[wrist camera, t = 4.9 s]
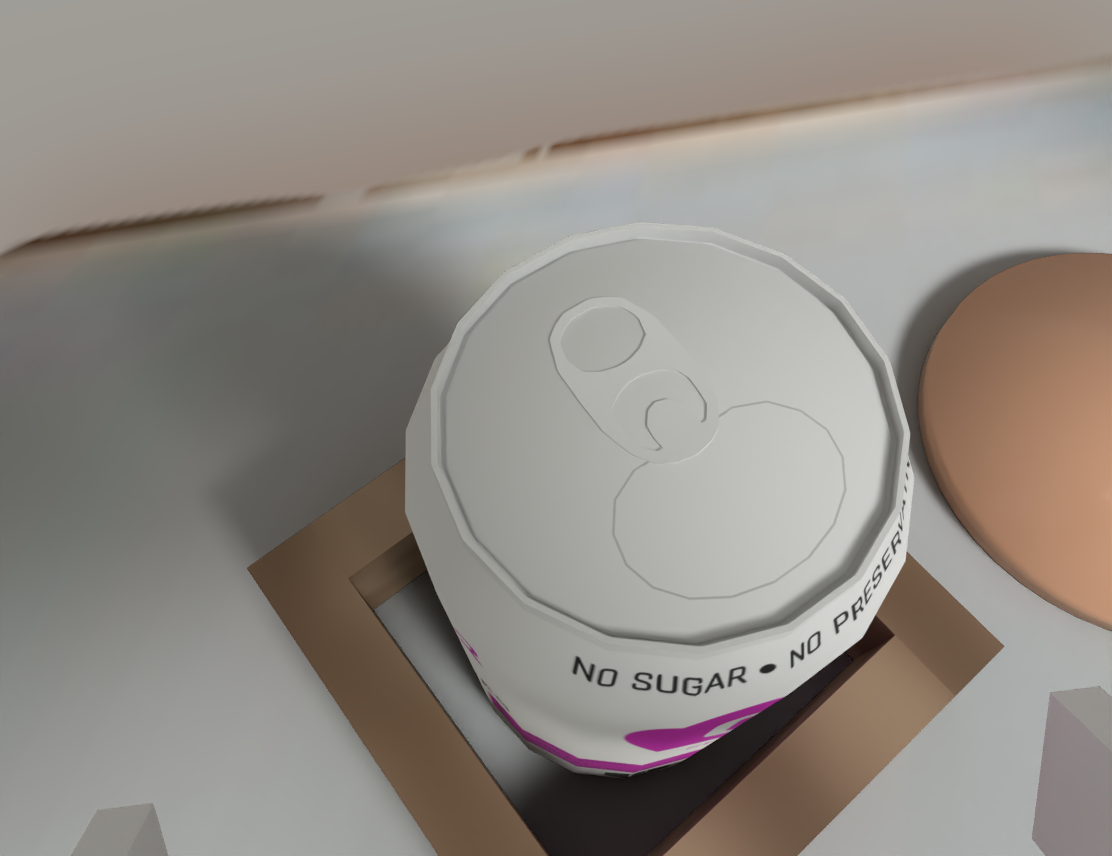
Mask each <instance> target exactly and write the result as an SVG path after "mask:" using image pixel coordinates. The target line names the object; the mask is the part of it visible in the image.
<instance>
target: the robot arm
mask: <svg viewBox="0 0 1112 856" xmlns="http://www.w3.org/2000/svg"><path fill="white" fill-rule="evenodd" d="M1032 839H1033V841H1034V842H1035V843H1036V844H1037V846H1038V847H1039V848H1040V849H1041V851H1042V852H1043V853H1044V854H1045V856H1112V697H1111V696H1110V695H1109V694H1108V693H1107V692H1105V691H1104V690H1103V689H1102V688H1101V687H1100V686H1098V687H1090V688H1082V689H1074V690H1066V691H1058V692H1050V698H1049V706H1048V714H1047V722H1046V730H1045V738H1044V746H1043V754H1042V762H1041V770H1040V778H1039V786H1038V794H1037V802H1036V810H1035V818H1034V826H1033V833H1032ZM71 856H168V853H167V849H166V846H165V843H164V839H163V836H162V832H161V829H160V825H159V822H158V818H157V815H156V811H155V808H154V805H153V803H151V804H143V805H135V806H127V807H119V808H111V809H103V810H97V812H96V814H95V815H94V817H93V819H92V820H91V822H90V824H89V826H88V827H87V829H86V831H85V832H84V834H83V836H82V838H81V839H80V841H79V843H78V844H77V846H76V848H75V850H74V851H73V853H72V855H71Z"/></svg>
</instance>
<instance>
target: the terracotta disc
mask: <svg viewBox="0 0 1112 856" xmlns="http://www.w3.org/2000/svg"><path fill="white" fill-rule="evenodd" d="M918 420H919V426H920V432H921V438H922V443H923V446H924V449H925V453H926V456H927V459H928V462H929V465H930V468H931V470H932V473H933V475H934V477H935V479H936V481H937V483H938V486H939V488H940V490H941V492H942V494H943V495H944V497H945V499H946V500H947V502H948V504H949V505H950V507H951V508H952V510H953V512H954V513H955V515H956V517H957V518H958V519H959V520H960V522H961V523H962V524H963V526H964V527H965V528H966V529H967V531H968V532H969V533H970V535H971V536H972V537H973V538H974V540H975V541H976V542H977V543H978V544H979V545H980V546H981V547H982V548H983V549H984V550H985V551H986V552H987V553H988V554H989V555H990V556H991V557H992V558H993V560H994V561H995V562H996V563H997V564H999V565H1000V566H1001V567H1002V568H1003V569H1005V570H1006V571H1007V572H1008V573H1009V574H1011V575H1012V576H1013V577H1014V578H1015V579H1017V580H1018V581H1019V582H1020V583H1021V584H1023V585H1024V586H1026V587H1027V588H1029V589H1030V590H1032V591H1033V592H1035V593H1036V594H1037V595H1039V596H1040V597H1042V598H1043V599H1045V600H1046V601H1048V602H1049V603H1051V604H1053V605H1055V606H1057V607H1059V608H1061V609H1062V610H1064V611H1066V612H1068V613H1070V614H1072V615H1074V616H1076V617H1077V618H1080V619H1082V620H1084V621H1087V622H1089V623H1092V624H1094V625H1097V626H1099V627H1102V628H1104V629H1107V630H1109V631H1112V254H1104V253H1073V254H1060V255H1054V256H1049V257H1043V258H1038V259H1034V260H1031V261H1028V262H1025V263H1022V264H1019V265H1016V266H1013V267H1011V268H1009V269H1007V270H1005V271H1002V272H1000V273H998V274H996V275H994V276H993V277H991V278H990V279H988V280H987V281H985V282H984V283H982V284H981V285H980V286H978V287H977V288H975V289H974V290H973V291H972V292H971V293H970V294H969V295H968V296H967V297H966V298H965V299H964V300H963V301H962V302H961V303H960V304H959V305H958V307H957V308H956V309H955V311H954V312H953V313H952V315H951V316H950V317H949V319H948V320H947V321H946V323H945V324H944V325H943V327H942V328H941V329H940V331H939V332H938V334H937V335H936V337H935V339H934V341H933V343H932V345H931V347H930V349H929V351H928V353H927V355H926V359H925V362H924V365H923V368H922V371H921V376H920V383H919V391H918Z"/></svg>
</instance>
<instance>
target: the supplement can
mask: <svg viewBox="0 0 1112 856" xmlns="http://www.w3.org/2000/svg"><path fill="white" fill-rule="evenodd" d="M909 441H910V430H909V426H908V423H907V419H906V416H905V412H904V409H903V405H902V402H901V398H900V395H899V391H898V387H897V384H896V380H895V377H894V373H893V370H892V366H891V363H890V360H889V359H888V357H887V356H886V354H885V353H884V352H883V350H882V349H881V347H880V346H879V345H878V343H877V342H876V341H875V339H874V338H873V336H872V335H871V334H870V332H869V331H868V329H867V328H866V327H865V325H864V324H863V322H862V321H861V320H860V318H859V317H858V315H857V314H856V313H855V311H854V310H853V309H852V307H851V306H850V304H849V303H848V302H847V300H846V299H845V298H844V297H842V296H841V295H839V294H838V293H837V292H835V291H834V290H833V289H831V288H830V287H829V286H827V285H826V284H825V283H823V282H822V281H821V280H819V279H818V278H817V277H815V276H814V275H813V274H811V273H810V272H808V271H807V270H806V269H804V268H803V267H802V266H800V265H799V264H798V263H796V262H795V261H794V260H792V259H791V258H790V257H788V256H787V255H786V254H784V253H781V252H778V251H775V250H773V249H770V248H767V247H765V246H762V245H759V244H756V243H754V242H751V241H748V240H746V239H743V238H740V237H738V236H735V235H732V234H729V233H727V232H724V231H721V230H719V229H716V228H710V227H697V226H685V225H673V224H660V223H648V222H637V223H632V224H627V225H622V226H617V227H612V228H607V229H602V230H597V231H592V232H587V233H582V234H577V235H572V236H568V237H566V238H564V239H562V240H561V241H559V242H557V243H555V244H553V245H551V246H550V247H548V248H546V249H544V250H542V251H540V252H539V253H537V254H535V255H533V256H531V257H529V258H528V259H526V260H524V261H522V262H520V263H518V264H516V265H515V266H513V267H511V268H509V269H507V270H505V271H504V273H503V274H502V275H501V276H500V277H499V278H498V279H497V280H496V281H495V282H494V283H493V285H492V286H491V287H490V288H489V289H488V290H487V291H486V292H485V293H484V294H483V295H482V296H481V298H480V299H479V300H478V301H477V302H476V303H475V304H474V305H473V306H472V307H471V308H470V310H469V311H468V312H467V313H466V314H465V315H464V316H463V317H462V318H461V319H460V320H459V322H458V323H457V325H456V327H455V330H454V332H453V335H452V337H451V340H450V342H449V343H448V344H447V345H446V347H445V348H444V349H443V350H442V351H441V352H440V353H439V354H438V355H437V356H436V358H435V359H434V362H433V364H432V367H431V369H430V372H429V374H428V376H427V379H426V381H425V384H424V386H423V389H422V391H421V394H420V396H419V399H418V401H417V404H416V406H415V409H414V411H413V414H412V416H411V419H410V421H409V424H408V426H407V428H406V457H405V513H406V516H407V518H408V521H409V524H410V526H411V529H412V531H413V534H414V536H415V539H416V542H417V544H418V547H419V549H420V552H421V554H422V557H423V559H424V562H425V565H426V567H427V570H428V572H429V575H430V577H431V580H432V582H433V585H434V588H435V590H436V593H437V595H438V597H439V599H440V601H441V603H442V605H443V607H444V609H445V611H446V613H447V615H448V617H449V619H450V622H451V624H452V626H453V628H454V630H455V632H456V634H457V636H458V638H459V640H460V642H461V644H462V646H463V648H464V650H465V652H466V654H467V656H468V658H469V660H470V662H471V664H472V666H473V668H474V670H475V672H476V674H477V676H478V678H479V680H480V682H481V685H482V687H483V689H484V691H485V693H486V695H487V697H488V699H489V701H490V703H491V705H492V707H493V709H494V711H495V712H496V713H497V714H498V715H499V716H500V718H501V719H502V720H503V721H504V722H505V723H506V724H507V725H508V726H509V728H510V729H511V730H512V731H513V732H514V733H515V734H516V735H517V737H518V738H519V739H520V740H521V741H522V742H523V743H524V744H525V745H526V747H527V748H528V749H530V750H531V751H533V752H535V753H537V754H539V755H541V756H543V757H545V758H547V759H549V760H551V761H553V762H554V763H556V764H558V765H560V766H562V767H564V768H566V769H568V770H570V771H572V772H574V773H578V774H587V775H596V776H605V777H614V778H623V779H628V778H632V777H635V776H639V775H643V774H646V773H650V772H654V771H657V770H661V769H665V768H668V767H672V766H676V765H677V764H679V763H681V762H682V761H684V760H685V759H687V758H688V757H690V756H692V755H693V754H695V753H696V752H698V751H700V750H701V749H703V748H704V747H706V746H707V745H709V744H711V743H712V742H714V741H715V740H717V739H719V738H720V737H722V736H723V735H725V734H727V733H728V732H730V731H731V730H733V729H734V728H736V727H738V726H739V725H741V724H742V723H744V722H746V721H747V720H749V719H750V718H752V717H753V716H755V715H757V714H758V713H760V712H761V711H763V710H765V709H766V708H768V707H769V706H771V705H772V704H774V703H776V702H777V701H779V700H780V699H782V698H784V697H785V696H787V695H788V694H790V693H791V692H792V691H794V690H795V689H796V688H797V687H799V686H800V685H801V684H803V683H804V682H805V681H807V680H808V679H809V678H811V677H812V676H813V675H815V674H816V673H817V672H818V671H820V670H821V669H822V668H824V667H825V666H826V665H828V664H829V663H830V662H832V661H833V660H834V659H835V658H837V657H838V656H839V655H841V654H842V653H843V652H845V651H846V650H847V649H849V648H850V647H851V646H852V645H854V644H855V643H856V642H858V641H859V640H860V639H862V638H863V636H864V634H865V633H866V631H867V629H868V627H869V625H870V624H871V622H872V620H873V618H874V616H875V615H876V613H877V611H878V609H879V608H880V606H881V604H882V602H883V600H884V599H885V597H886V595H887V593H888V592H889V590H890V588H891V586H892V584H893V583H894V581H895V579H896V577H897V575H898V574H899V572H900V570H901V568H902V567H903V565H904V563H905V561H906V552H907V542H908V533H909V524H910V514H911V505H912V495H913V486H914V475H913V471H912V468H911V464H910V460H909V457H908V450H909Z"/></svg>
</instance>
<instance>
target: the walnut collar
mask: <svg viewBox="0 0 1112 856" xmlns="http://www.w3.org/2000/svg"><path fill="white" fill-rule="evenodd" d="M247 569H248V571H249V572H250V574H251V575H252V577H253V578H254V580H255V581H256V583H257V584H258V586H259V587H260V589H261V590H262V592H263V593H264V595H265V596H266V598H267V599H268V601H269V602H270V604H271V605H272V607H273V608H274V610H275V611H276V613H277V614H278V616H279V617H280V619H281V620H282V622H283V623H284V625H285V626H286V628H287V629H288V631H289V632H290V634H291V635H292V637H293V638H294V640H295V641H296V643H297V644H298V646H299V647H300V649H301V650H302V652H303V653H304V655H305V656H306V657H307V659H308V660H309V662H310V663H311V665H312V666H313V668H314V669H315V671H316V672H317V674H318V675H319V677H320V678H321V680H322V681H323V683H324V684H325V686H326V687H327V689H328V690H329V692H330V693H331V695H332V696H333V698H334V699H335V701H336V702H337V704H338V705H339V707H340V708H341V710H342V711H343V713H344V714H345V716H346V717H347V719H348V720H349V722H350V723H351V725H352V726H353V728H354V729H355V731H356V732H357V734H358V735H359V737H360V738H361V740H362V741H363V743H364V744H365V746H366V747H367V749H368V750H369V752H370V753H371V755H372V756H373V758H374V759H375V761H376V762H377V764H378V765H379V767H380V768H381V770H382V771H383V773H384V774H385V776H386V777H387V779H388V780H389V782H390V783H391V785H392V786H393V788H394V789H395V791H396V792H397V794H398V795H399V797H400V798H401V800H402V801H403V803H404V804H405V806H406V807H407V809H408V810H409V812H410V813H411V815H412V816H413V818H414V819H415V821H416V822H417V824H418V825H419V827H420V828H421V830H422V831H423V833H424V834H425V836H426V837H427V839H428V840H429V842H430V843H431V845H432V846H433V848H434V849H435V851H436V852H437V854H438V855H439V856H550V855H549V853H548V852H547V851H546V849H545V848H544V846H543V845H542V844H541V842H540V841H539V839H538V838H537V837H536V835H535V834H534V832H533V831H532V830H531V828H530V827H529V826H528V824H527V823H526V821H525V820H524V819H523V817H522V816H521V814H520V813H519V812H518V810H517V809H516V807H515V806H514V805H513V803H512V802H511V801H510V799H509V798H508V796H507V795H506V794H505V792H504V791H503V789H502V788H501V787H500V785H499V784H498V782H497V781H496V780H495V778H494V777H493V775H492V774H491V773H490V771H489V770H488V769H487V767H486V766H485V764H484V763H483V762H482V760H481V759H480V757H479V756H478V755H477V753H476V752H475V750H474V749H473V748H472V746H471V745H470V744H469V742H468V741H467V739H466V738H465V737H464V735H463V734H462V732H461V731H460V730H459V728H458V727H457V725H456V724H455V723H454V721H453V720H452V718H451V717H450V716H449V714H448V713H447V712H446V710H445V709H444V707H443V706H442V705H441V703H440V702H439V700H438V699H437V698H436V696H435V695H434V693H433V692H432V691H431V689H430V688H429V687H428V685H427V684H426V682H425V681H424V680H423V678H422V677H421V675H420V674H419V673H418V671H417V670H416V668H415V667H414V666H413V664H412V663H411V661H410V660H409V659H408V657H407V656H406V655H405V653H404V652H403V650H402V649H401V648H400V646H399V645H398V643H397V642H396V641H395V639H394V638H393V636H392V635H391V634H390V632H389V631H388V630H387V628H386V627H385V625H384V624H383V623H382V621H381V620H380V618H379V617H378V616H377V614H376V613H375V611H374V609H375V608H377V607H378V606H379V605H381V604H382V603H383V602H385V601H386V600H387V599H389V598H390V597H392V596H393V595H394V594H396V593H397V592H398V591H400V590H401V589H402V588H404V587H405V586H406V585H408V584H409V583H410V582H412V581H413V580H414V579H416V578H417V577H418V576H420V575H421V574H422V573H424V572H425V571H426V570H427V567H426V565H425V562H424V559H423V557H422V554H421V552H420V549H419V547H418V544H417V542H416V539H415V536H414V534H413V531H412V529H411V526H410V524H409V521H408V518H407V516H406V513H405V458H404V459H403V460H401V461H400V462H398V463H397V464H395V465H394V466H393V467H391V468H390V469H388V470H387V471H385V472H384V473H382V474H381V475H380V476H378V477H377V478H375V479H374V480H372V481H371V482H370V483H368V484H367V485H365V486H364V487H362V488H361V489H360V490H358V491H357V492H355V493H354V494H352V495H351V496H349V497H348V498H347V499H345V500H344V501H342V502H341V503H339V504H338V505H337V506H335V507H334V508H332V509H331V510H329V511H328V512H327V513H325V514H324V515H322V516H321V517H319V518H318V519H316V520H315V521H314V522H312V523H311V524H309V525H308V526H306V527H305V528H304V529H302V530H301V531H299V532H298V533H296V534H295V535H293V536H292V537H291V538H289V539H288V540H286V541H285V542H283V543H282V544H281V545H279V546H278V547H276V548H275V549H273V550H272V551H271V552H269V553H268V554H266V555H265V556H263V557H262V558H260V559H259V560H258V561H256V562H255V563H253V564H252V565H250V566H249V567H248V568H247ZM1003 647H1004V645H1003V644H1002V643H1000V642H999V641H998V640H997V639H996V638H995V637H994V636H993V635H992V634H991V633H990V632H989V631H988V630H987V629H986V628H985V627H984V626H983V625H982V624H981V623H980V622H979V621H978V620H977V619H976V618H975V617H974V616H973V615H972V614H971V613H970V612H969V611H967V610H966V609H965V608H964V607H963V606H962V605H961V604H960V603H959V602H958V601H957V600H956V599H955V598H954V597H953V596H952V595H951V594H950V593H949V592H948V591H947V590H946V589H945V588H944V587H943V586H942V585H941V584H940V583H939V582H938V581H937V580H935V579H934V578H933V577H932V576H931V575H930V574H929V573H928V572H927V571H926V570H925V569H924V568H923V567H922V566H921V565H920V564H919V563H918V562H917V561H916V560H915V559H914V558H913V557H912V556H911V555H910V554H909V553H908V552H906V561H905V563H904V565H903V567H902V568H901V570H900V572H899V574H898V575H897V577H896V579H895V581H894V583H893V584H892V586H891V588H890V590H889V592H888V593H887V595H886V597H885V599H884V600H883V602H882V604H881V606H880V608H879V609H878V611H877V613H876V615H875V616H874V618H873V620H872V622H871V624H870V625H869V627H868V629H867V631H866V633H865V634H864V636H863V638H862V639H860V640H859V641H858V642H856V643H855V644H854V645H852V646H851V647H850V648H849V649H847V650H846V651H845V652H846V653H847V654H848V655H849V656H850V657H851V658H852V659H853V661H852V662H851V663H850V664H849V665H848V666H847V667H846V668H845V669H844V670H843V671H842V672H841V673H840V674H839V675H838V676H837V677H835V678H834V679H833V680H832V681H831V682H830V683H829V684H828V685H827V686H826V687H825V688H824V689H823V690H822V691H821V692H820V693H819V694H817V695H816V696H815V697H814V698H813V699H812V700H811V701H810V702H809V703H808V704H807V705H806V706H805V707H804V708H803V709H802V710H800V711H799V712H798V713H797V714H796V715H795V716H794V717H793V718H792V719H791V720H790V721H789V722H788V723H787V724H786V725H785V726H784V727H782V728H781V729H780V730H779V731H778V732H777V733H776V734H775V735H774V736H773V737H772V738H771V739H770V740H769V741H768V742H767V743H766V744H764V745H763V746H762V747H761V748H760V749H759V750H758V751H757V752H756V753H755V754H754V755H753V756H752V757H751V758H750V759H749V760H747V761H746V762H745V763H744V764H743V765H742V766H741V767H740V768H739V769H738V770H737V771H736V772H735V773H734V774H733V775H732V776H731V777H729V778H728V779H727V780H726V781H725V782H724V783H723V784H722V785H721V786H720V787H719V788H718V789H717V790H716V791H715V792H714V793H713V794H711V795H710V796H709V797H708V798H707V799H706V800H705V801H704V802H703V803H702V804H701V805H700V806H699V807H698V808H697V809H696V810H695V811H693V812H692V813H691V814H690V815H689V816H688V817H687V818H686V819H685V820H684V821H683V822H682V823H681V824H680V825H679V826H678V827H676V828H675V829H674V830H673V831H672V832H671V833H670V834H669V835H668V836H667V837H666V838H665V839H664V840H663V841H662V842H661V843H660V844H658V845H657V846H656V847H655V848H654V849H653V850H652V851H651V852H650V853H649V854H648V855H647V856H797V855H798V854H799V853H800V852H801V851H802V850H803V849H804V848H805V847H806V846H807V845H808V844H809V843H810V842H811V841H812V840H813V839H814V838H815V837H816V836H817V835H818V834H819V833H820V832H821V831H822V830H823V829H824V828H825V827H826V826H827V825H828V824H829V823H830V822H831V821H832V820H833V819H834V818H835V817H836V816H837V815H838V814H839V813H840V812H841V811H842V810H843V809H844V808H845V807H846V806H847V805H848V804H849V803H850V802H851V801H852V800H853V799H854V798H855V797H856V796H857V795H858V794H859V793H860V792H861V791H862V790H863V789H864V788H865V787H866V786H867V785H868V784H869V783H870V782H871V781H872V780H873V779H874V778H875V777H876V776H877V775H878V774H879V773H880V772H881V771H882V770H883V769H884V768H885V767H886V766H887V765H888V764H889V762H890V761H891V760H892V759H893V758H894V757H895V756H896V755H897V754H898V753H899V752H900V751H901V750H902V749H903V748H904V747H905V746H906V745H907V744H908V743H909V742H910V741H911V740H912V739H913V738H914V737H915V736H916V735H917V734H918V733H919V732H920V731H921V730H922V729H923V728H924V727H925V726H926V725H927V724H928V723H929V722H930V721H931V720H932V719H933V718H934V717H935V716H936V715H937V714H938V713H939V712H940V711H941V710H942V709H943V708H944V707H945V706H946V705H947V704H948V703H949V702H950V701H951V700H952V699H953V698H954V697H955V696H956V695H957V694H958V693H959V692H960V691H961V690H962V689H963V688H964V687H965V686H966V685H967V684H968V683H969V682H970V681H971V680H972V679H973V678H974V677H975V676H976V675H977V674H978V673H979V672H980V671H981V670H982V669H983V668H984V667H985V666H986V665H987V664H988V663H989V662H990V660H991V659H992V658H993V657H994V656H995V655H996V654H997V653H998V652H999V651H1000V650H1001V649H1002V648H1003Z"/></svg>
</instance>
